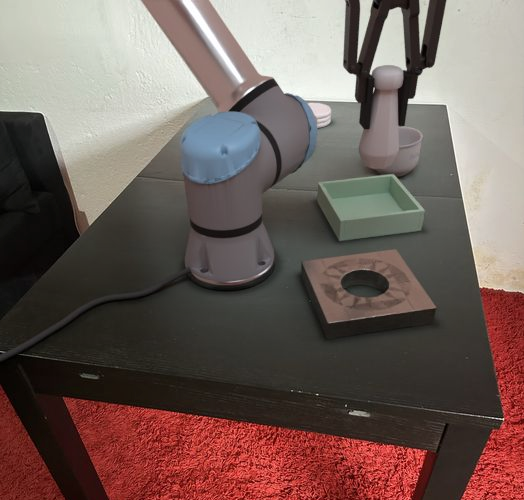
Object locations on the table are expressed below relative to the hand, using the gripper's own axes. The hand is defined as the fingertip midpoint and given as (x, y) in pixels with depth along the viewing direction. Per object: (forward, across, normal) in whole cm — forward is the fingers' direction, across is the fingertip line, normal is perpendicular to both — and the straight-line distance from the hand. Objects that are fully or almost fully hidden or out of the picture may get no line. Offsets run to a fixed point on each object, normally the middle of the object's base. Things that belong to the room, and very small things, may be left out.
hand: (381, 124), depth 74 cm
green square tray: (+23, +4, +15) cm, 28 cm away
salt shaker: (+6, 0, 0) cm, 6 cm away
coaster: (+23, +4, +66) cm, 70 cm away
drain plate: (+23, -3, -10) cm, 25 cm away
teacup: (+23, +15, +35) cm, 44 cm away
